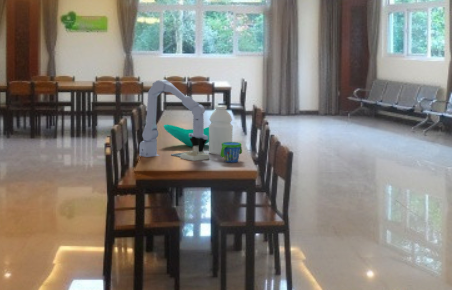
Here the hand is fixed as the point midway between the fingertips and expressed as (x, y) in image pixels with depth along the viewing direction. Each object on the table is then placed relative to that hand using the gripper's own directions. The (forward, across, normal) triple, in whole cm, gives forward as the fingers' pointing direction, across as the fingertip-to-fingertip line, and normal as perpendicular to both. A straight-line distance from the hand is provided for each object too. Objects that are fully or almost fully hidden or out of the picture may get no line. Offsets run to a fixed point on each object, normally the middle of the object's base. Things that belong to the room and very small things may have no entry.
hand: (198, 151), depth 363 cm
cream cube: (+4, 0, +5) cm, 6 cm away
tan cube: (+4, +12, -9) cm, 15 cm away
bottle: (+5, +7, -23) cm, 24 cm away
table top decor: (+5, +38, -29) cm, 48 cm away
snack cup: (+5, -18, -9) cm, 20 cm away
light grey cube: (+1, 0, 0) cm, 1 cm away
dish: (+4, 0, +2) cm, 5 cm away
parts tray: (+4, +12, -3) cm, 13 cm away
